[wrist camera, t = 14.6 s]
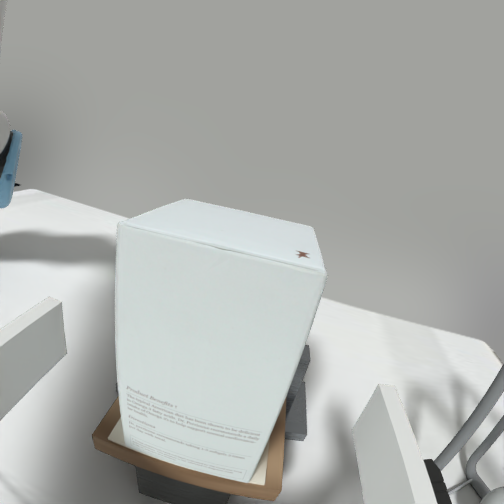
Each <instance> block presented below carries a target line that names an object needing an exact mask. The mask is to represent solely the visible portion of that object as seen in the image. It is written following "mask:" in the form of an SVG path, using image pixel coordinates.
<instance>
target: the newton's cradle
mask: <svg viewBox="0 0 504 504" xmlns="http://www.w3.org/2000/svg"><path fill="white" fill-rule="evenodd" d="M503 392H504V364H503V366H502V368H501V369H500V371H499V373H498V374H497V376H496V378H495V379H494V381H493V383H492V384H491V386H490V387H489V389H488V391H487V392H486V394H485V395H484V397H483V398H482V400H481V401H480V403H479V404H478V406H477V407H476V409H475V410H474V411H473V413H472V414H471V416H470V417H469V418H468V420H467V421H466V422H465V424H464V425H463V426H462V428H461V429H460V430H459V432H458V433H457V434H456V436H455V437H454V438H453V439H452V441H451V442H450V443H449V444H448V445H447V447H446V448H445V449H444V450H443V451H442V453H441V454H440V455H439V456H438V457H437V458H436V459H435V460H434V463H435V464H436V465H437V466H438V467H439V469H440V471H441V470H442V469H443V468H444V467H445V466H446V465H447V464H448V463H449V462H450V461H451V460H452V458H453V457H454V456H455V455H456V454H457V453H458V452H459V450H460V449H461V448H462V447H463V446H464V445H465V443H466V442H467V441H468V440H469V439H470V437H471V436H472V435H473V434H474V432H475V431H476V430H477V428H478V427H479V426H480V424H481V423H482V422H483V420H484V419H485V418H486V416H487V415H488V414H489V412H490V411H491V409H492V408H493V407H494V405H495V404H496V402H497V401H498V399H499V398H500V396H501V395H502V393H503ZM503 431H504V415H503V417H502V418H501V419H500V421H499V422H498V423H497V425H496V426H495V427H494V429H493V430H492V431H491V432H490V434H489V435H488V436H487V438H486V439H485V440H484V441H483V442H482V444H481V445H480V446H479V447H478V448H477V449H476V451H475V452H474V453H473V454H472V455H471V457H470V458H469V460H468V463H467V466H466V475H467V478H468V480H467V481H466V482H464V483H463V484H461V485H459V486H458V487H456V488H454V489H453V490H451V491H449V492H448V494H449V495H451V494H452V493H454V492H456V491H457V490H459V489H460V488H462V487H464V486H465V485H467V484H468V483H471V485H472V486H473V487H474V489H475V490H476V491H477V493H478V494H479V495H480V497H481V498H482V501H481V502H480V504H504V487H499V488H496V489H494V490H492V491H490V490H489V488H488V487H487V486H486V485H485V483H484V482H483V481H482V479H481V478H480V477H479V476H478V474H477V472H476V464H477V462H478V460H479V459H480V458H481V457H482V456H483V455H484V454H485V452H486V451H487V450H488V449H489V448H490V447H491V445H492V444H493V443H494V442H495V441H496V439H497V438H498V437H499V436H500V434H501V433H502V432H503Z"/></svg>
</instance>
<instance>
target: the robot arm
mask: <svg viewBox="0 0 504 504" xmlns="http://www.w3.org/2000/svg"><path fill="white" fill-rule="evenodd" d="M6 5H7V0H0V52H1V41H2V32H3V24H4V17H5V11H6ZM21 142H22V134H21V132H18V131H16V130H12V131H10V124H9V120H8V118H7V116H6V115H5V114H4V113H3V112H2V111H1V110H0V208H5V207H7V206H8V205H9V204H10V202H11V199H12V195H13V189H14V184H15V178H16V171H17V166H18V160H19V154H20V149H21ZM66 354H67V349H66V341H65V333H64V323H63V312H62V302H61V301H58V300H56V299H54V298H51V297H48V298H46V299H44V300H43V301H41V302H40V303H38V304H37V305H35V306H34V307H32V308H31V309H29V310H28V311H26V312H25V313H23V314H22V315H20V316H19V317H17V318H16V319H14V320H13V321H12V322H10V323H9V324H7V325H6V326H4V327H3V328H1V329H0V421H1V420H2V418H3V417H4V416H5V415H6V414H7V413H8V412H9V411H10V410H11V409H12V408H13V407H14V406H15V405H16V404H17V403H18V402H19V401H20V400H21V399H22V398H23V397H24V396H25V395H26V394H27V393H28V392H29V391H30V389H31V388H32V387H33V386H34V385H35V384H36V383H37V382H38V381H39V380H40V379H41V378H42V377H43V376H45V375H46V374H47V373H48V372H49V371H50V370H51V369H52V368H53V367H54V366H55V365H56V364H57V363H58V362H59V361H60V360H61V359H62V358H63V357H64V356H65V355H66ZM352 434H353V439H354V445H355V451H356V456H357V462H358V468H359V475H360V481H361V488H362V494H363V501H364V504H452V503H451V500H450V497H449V494H448V492H447V491H446V490H447V488H446V485H445V483H444V482H443V481H444V479H443V477H442V474H441V471H440V469H439V467H438V466H437V465H436V464H435V463H434V461H433V460H432V459H426V460H423V458H422V455H421V452H420V449H419V446H418V444H417V441H416V438H415V435H414V433H413V430H412V427H411V425H410V422H409V420H408V417H407V414H406V412H405V409H404V407H403V404H402V402H401V399H400V397H399V394H398V392H397V390H396V387H395V386H394V385H384V384H378V386H377V387H376V389H375V391H374V393H373V395H372V397H371V398H370V400H369V402H368V404H367V405H366V407H365V409H364V410H363V412H362V414H361V415H360V417H359V419H358V420H357V422H356V424H355V425H354V427H353V429H352Z"/></svg>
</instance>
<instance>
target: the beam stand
mask: <svg viewBox="0 0 504 504" xmlns="http://www.w3.org/2000/svg"><path fill="white" fill-rule="evenodd" d="M309 362H310V353H309V345H305V347H304V350H303V352H302V355H301V358H300V361H299V364H298V366H297V369H296V372H295V374H294V377H293V380H292V382H291V385H290V388H289V390H288V393H287V396H286V418H285V439H292V440H298V441H304V439H305V437H306V435H307V426H306V397H305V382H302V380H303V377H304V375H305V372H306V370H307V367H308V365H309ZM116 391H117V392H118V382H117V383H116ZM136 471H137V479H138V486H139V493H142V494H145V495H148V496H150V497H153V498H156V499H159V500H162V501H165V502H168V503H172V504H226V503H227V501H228V499H229V496H230V494H229V493H225V492H220V491H216V490H212V489H207V488H203V487H200V486H196V485H192V484H189V483H185V482H182V481H178V480H175V479H172V478H169V477H166V476H162V475H159V474H157V473H154V472H151V471H148V470H145V469H143V468H140V467H137V466H136Z"/></svg>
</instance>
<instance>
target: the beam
mask: <svg viewBox="0 0 504 504" xmlns="http://www.w3.org/2000/svg"><path fill="white" fill-rule="evenodd" d="M285 418H286V398H285V401H284V403H283V406H282V408H281V411H280V413H279V416H278V418H277V421H276V423H275V425H274V428H273V430H272V432H271V435H270V437H269V439H268V442H267V444H266V447H265V449H264V451H263V453H262V456H261V458H260V460H259V462H258V465H257V467H256V469H255V471H254V474H253V476H252V478H251V480H250V482H249V483H244V482H240V481H235V480H231V479H226V478H222V477H218V476H214V475H210V474H207V473H203V472H199V471H196V470H192V469H189V468H186V467H182V466H179V465H176V464H173V463H170V462H167V461H164V460H161V459H158V458H156V457H153V456H150V455H147V454H145V453H142V452H140V451H137V450H135V449H132V448H130V447H127V446H126V445H125V441H124V433H123V427H122V419H121V413H120V404H119V396H118V397H117V399H116V400H115V402H114V403H113V405H112V406H111V408H110V409H109V410H108V412H107V413H106V415H105V416H104V418H103V419H102V421H101V422H100V424H99V425H98V427H97V428H96V430H95V431H94V433H93V434H92V438H93V442H94V446H95V449H97V450H99V451H101V452H104V453H106V454H108V455H110V456H113V457H115V458H117V459H120V460H122V461H125V462H127V463H130V464H132V465H135V466H137V467H140V468H143V469H145V470H148V471H151V472H154V473H157V474H159V475H162V476H166V477H169V478H172V479H175V480H178V481H182V482H185V483H189V484H192V485H196V486H200V487H203V488H207V489H212V490H216V491H220V492H225V493H229V494H234V495H239V496H245V497H251V498H257V499H263V500H270V501H275V499H276V498H277V496H278V495H279V494H280V492H281V490H282V475H283V458H284V440H285Z"/></svg>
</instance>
